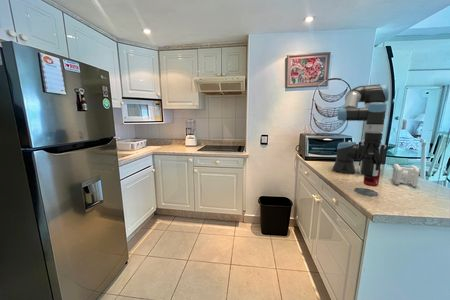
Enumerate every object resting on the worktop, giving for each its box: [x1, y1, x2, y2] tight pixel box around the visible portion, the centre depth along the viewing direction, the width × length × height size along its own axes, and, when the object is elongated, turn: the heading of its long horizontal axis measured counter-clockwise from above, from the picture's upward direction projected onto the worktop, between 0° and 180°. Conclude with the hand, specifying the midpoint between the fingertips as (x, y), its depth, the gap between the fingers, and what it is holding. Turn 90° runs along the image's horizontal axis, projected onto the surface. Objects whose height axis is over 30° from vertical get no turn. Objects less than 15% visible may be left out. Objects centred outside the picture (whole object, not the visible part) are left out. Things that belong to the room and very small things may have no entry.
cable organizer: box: [391, 163, 421, 188], centre depth 120 cm, size 15×11×12 cm
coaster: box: [353, 187, 379, 197], centre depth 107 cm, size 11×11×1 cm
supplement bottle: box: [360, 153, 376, 176], centre depth 104 cm, size 7×7×12 cm
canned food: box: [363, 167, 382, 187], centre depth 119 cm, size 8×8×11 cm
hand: (368, 173), depth 105 cm, fingers closed on supplement bottle, 7 cm apart
